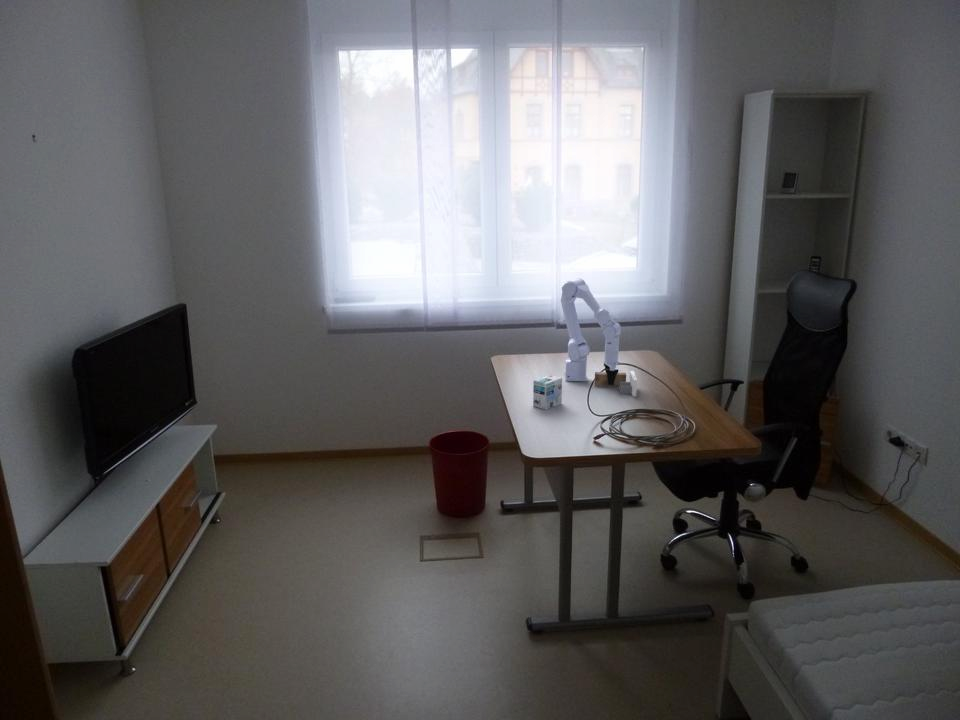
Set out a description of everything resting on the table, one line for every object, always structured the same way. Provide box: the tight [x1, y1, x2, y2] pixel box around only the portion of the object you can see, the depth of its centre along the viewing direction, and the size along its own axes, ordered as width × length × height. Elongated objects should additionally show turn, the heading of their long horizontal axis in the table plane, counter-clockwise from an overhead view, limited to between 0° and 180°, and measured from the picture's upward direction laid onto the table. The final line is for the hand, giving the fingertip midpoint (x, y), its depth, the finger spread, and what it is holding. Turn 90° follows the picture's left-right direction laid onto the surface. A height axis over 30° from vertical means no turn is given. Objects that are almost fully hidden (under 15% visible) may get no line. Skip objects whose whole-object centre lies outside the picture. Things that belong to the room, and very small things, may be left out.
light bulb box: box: [532, 374, 563, 411], centre depth 272 cm, size 11×7×11 cm, turn 137°
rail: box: [594, 371, 627, 388], centre depth 297 cm, size 13×3×6 cm, turn 84°
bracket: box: [618, 370, 638, 397], centre depth 288 cm, size 6×13×7 cm, turn 174°
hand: (610, 382), depth 297 cm, fingers open, 7 cm apart
